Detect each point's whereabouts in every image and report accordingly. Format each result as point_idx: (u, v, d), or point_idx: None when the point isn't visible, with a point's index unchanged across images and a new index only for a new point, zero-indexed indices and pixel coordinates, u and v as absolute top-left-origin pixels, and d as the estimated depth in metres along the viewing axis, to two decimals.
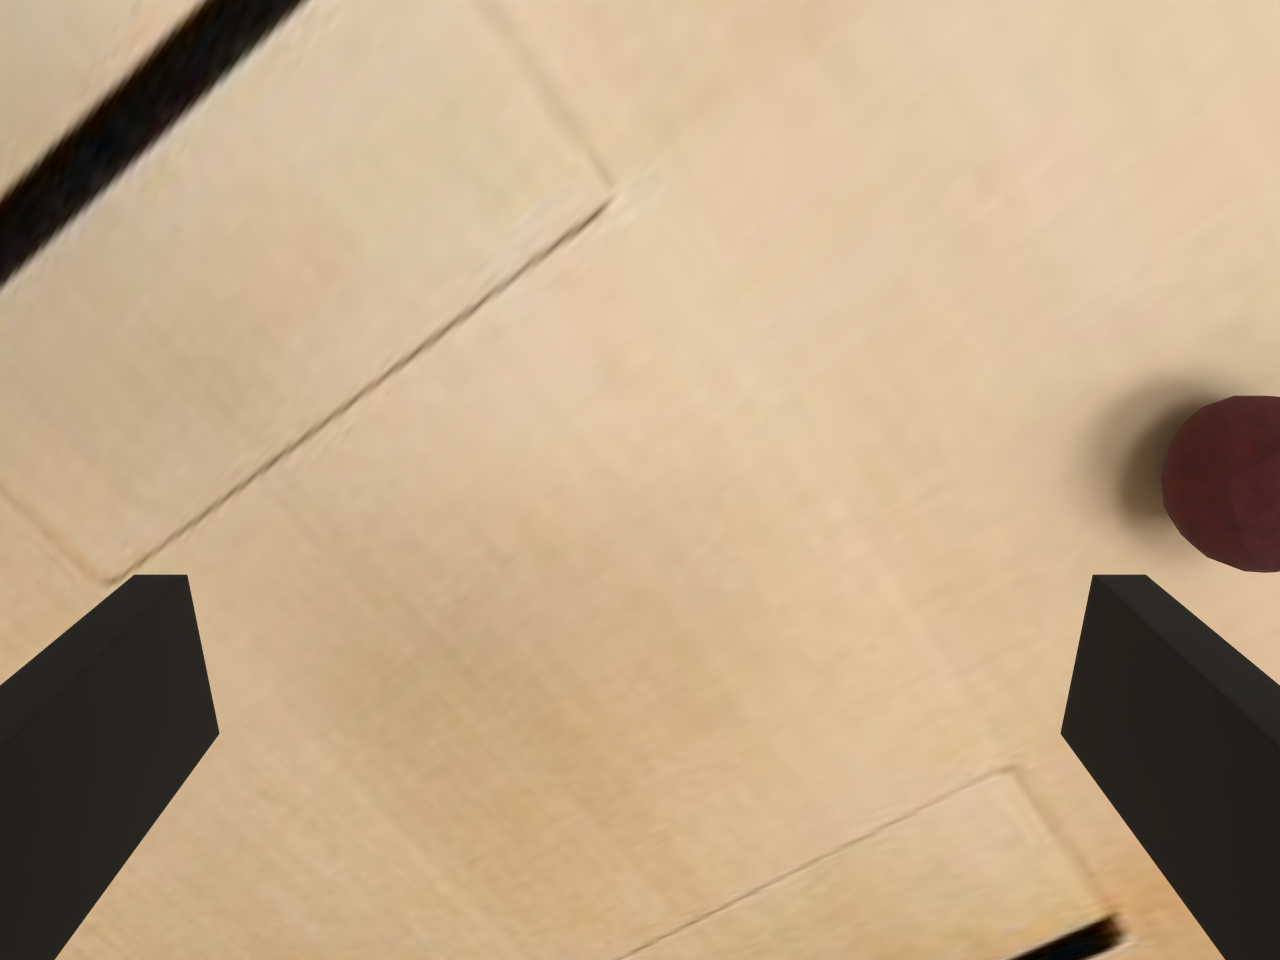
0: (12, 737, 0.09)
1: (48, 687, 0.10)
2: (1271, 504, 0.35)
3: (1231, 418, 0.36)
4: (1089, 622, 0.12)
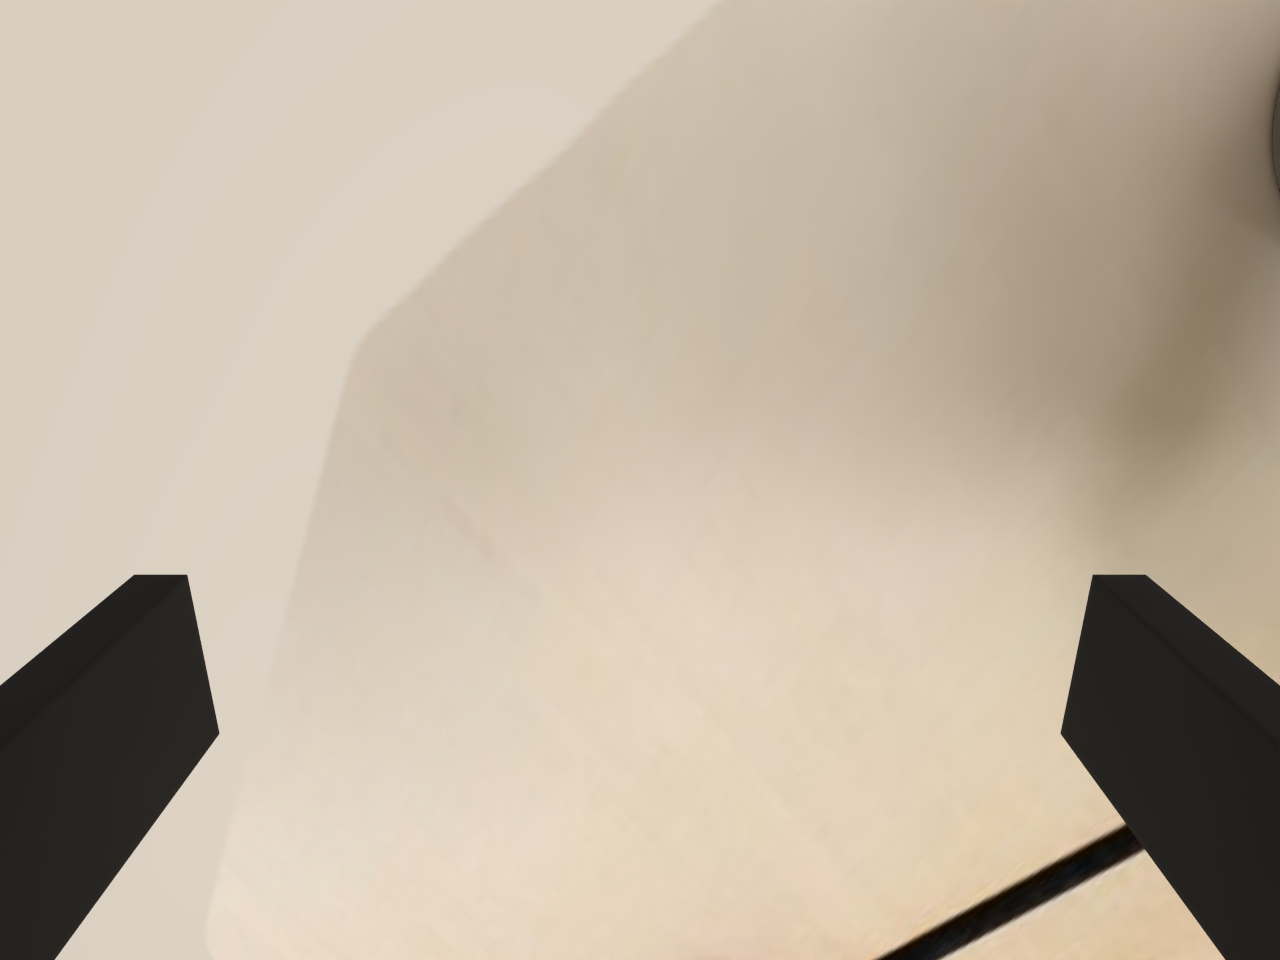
0: (11, 737, 0.09)
1: (48, 687, 0.10)
2: None
3: None
4: (1089, 622, 0.12)
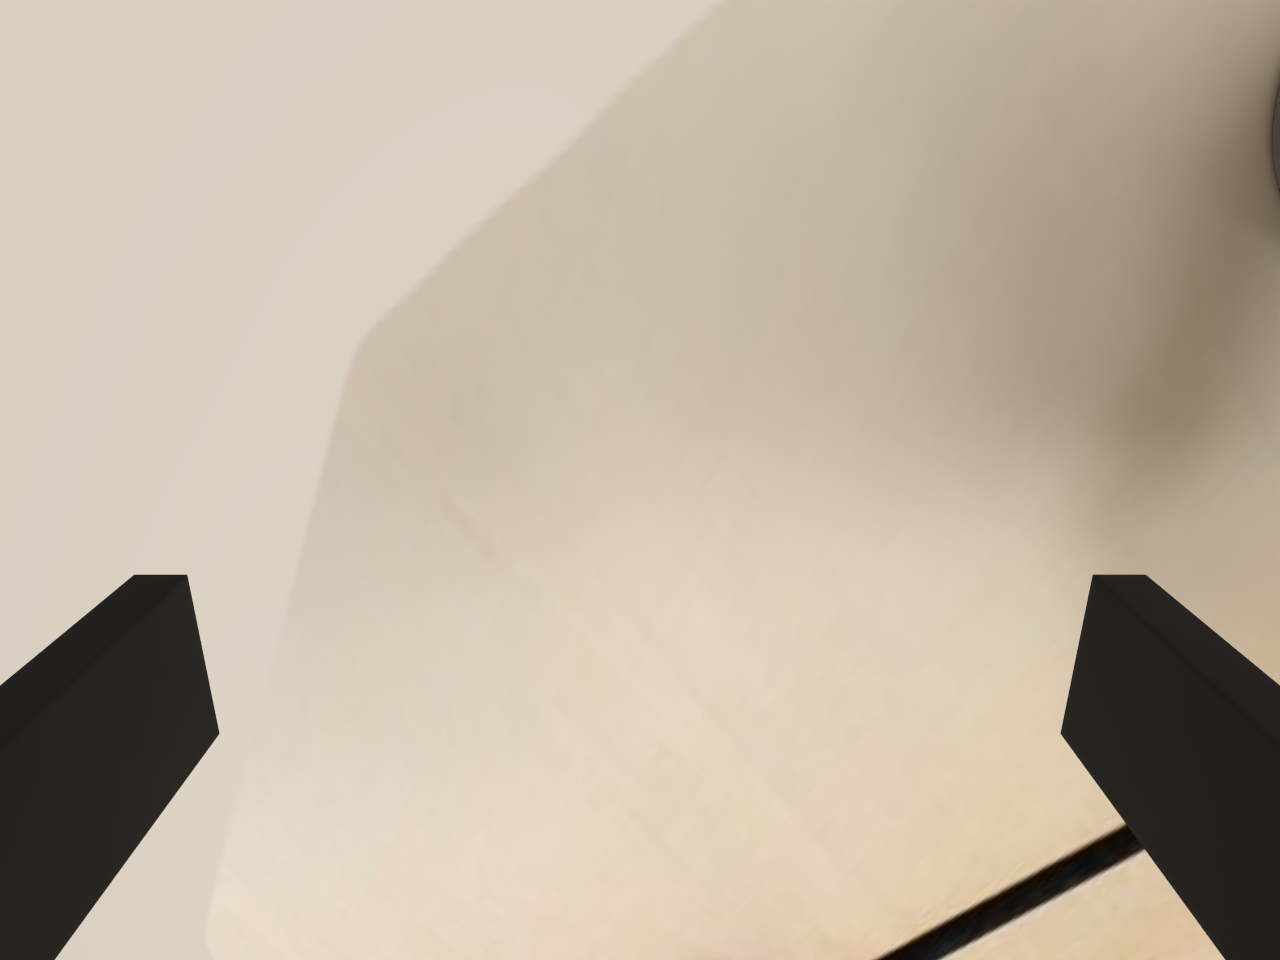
0: (12, 736, 0.09)
1: (48, 687, 0.10)
2: None
3: None
4: (1089, 622, 0.12)
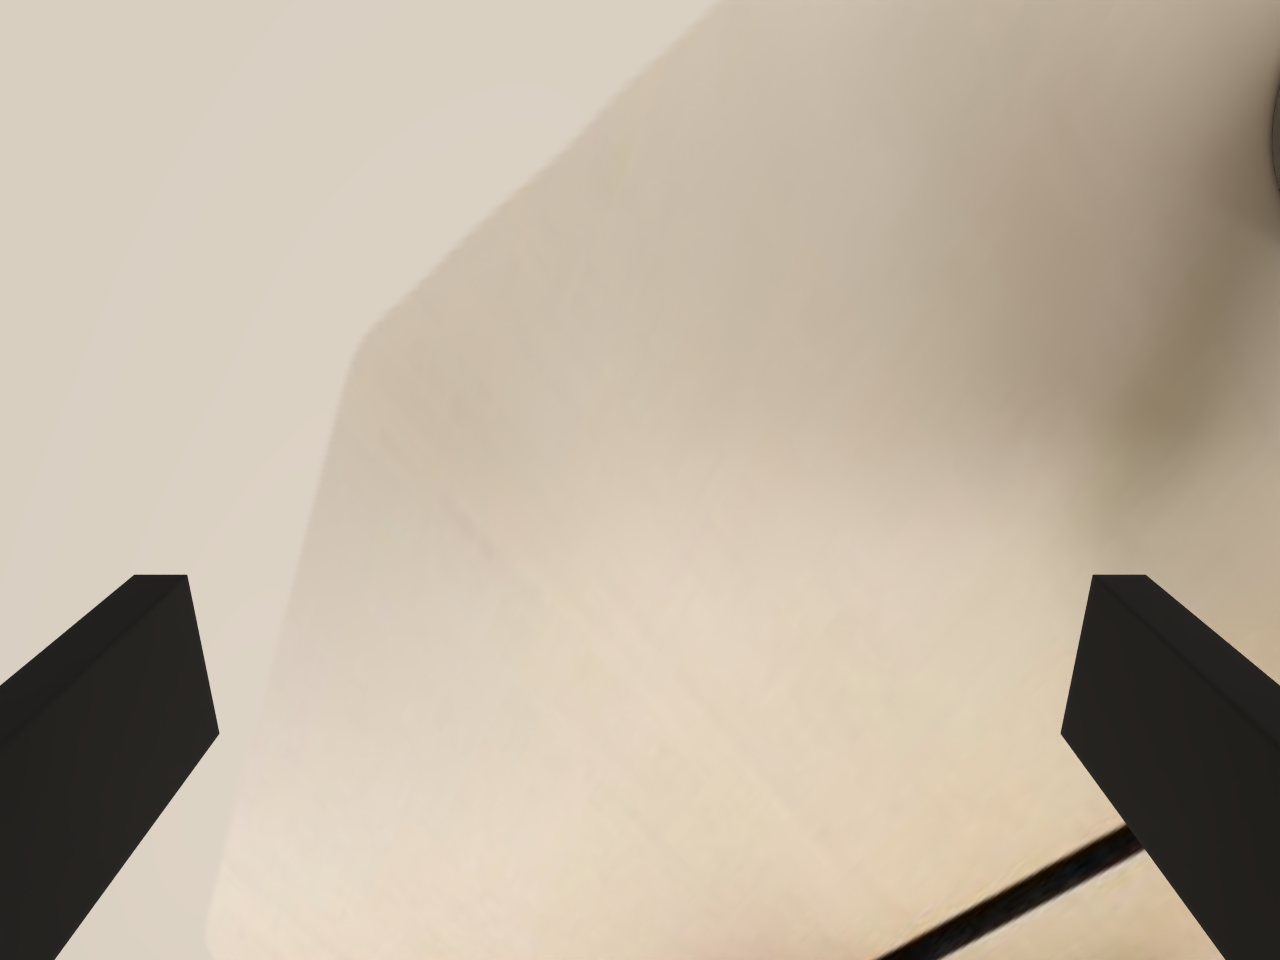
0: (12, 736, 0.09)
1: (48, 687, 0.10)
2: None
3: None
4: (1089, 622, 0.12)
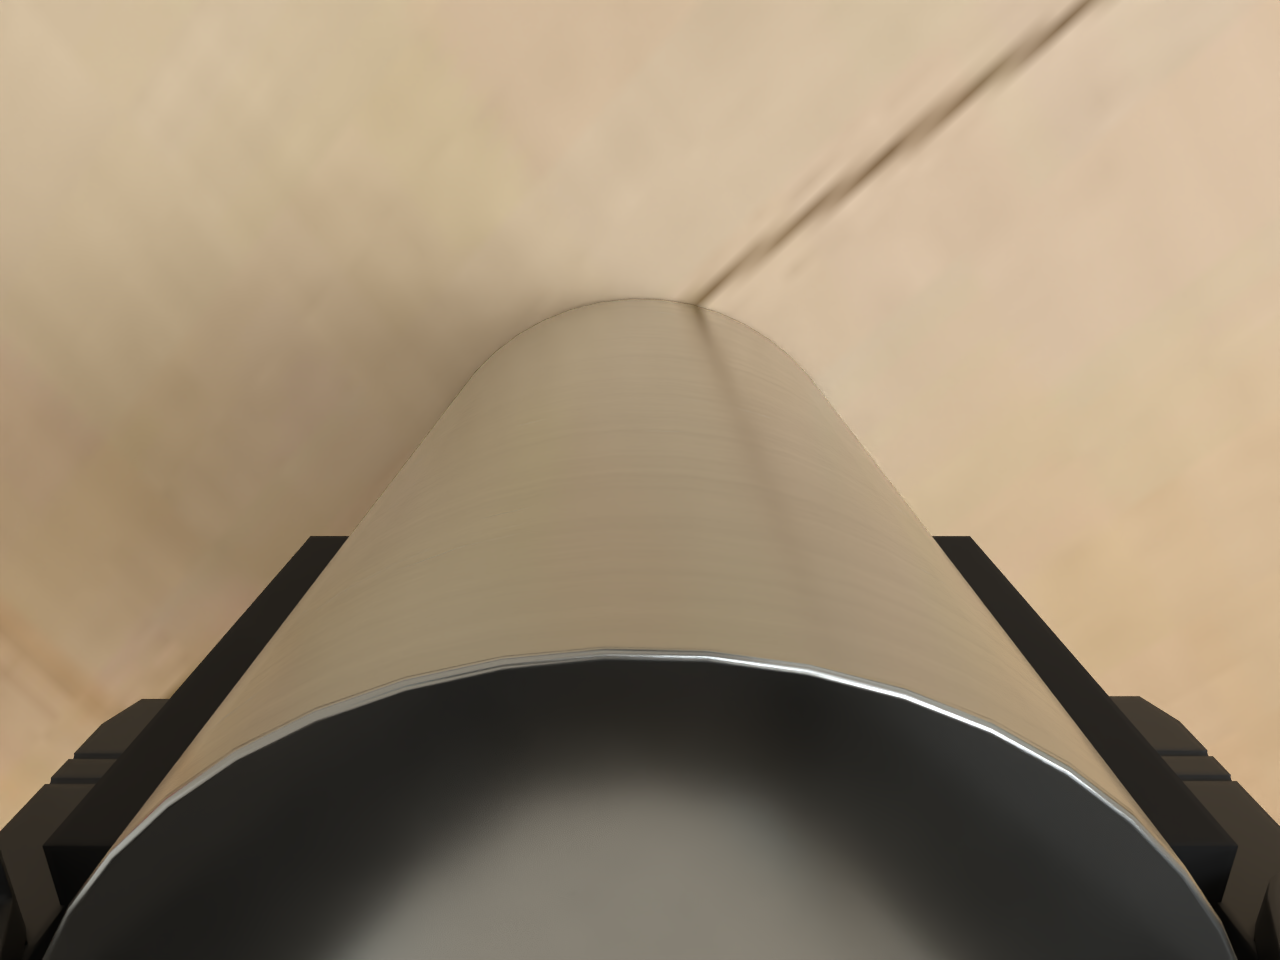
0: None
1: (276, 627, 0.11)
2: None
3: None
4: None
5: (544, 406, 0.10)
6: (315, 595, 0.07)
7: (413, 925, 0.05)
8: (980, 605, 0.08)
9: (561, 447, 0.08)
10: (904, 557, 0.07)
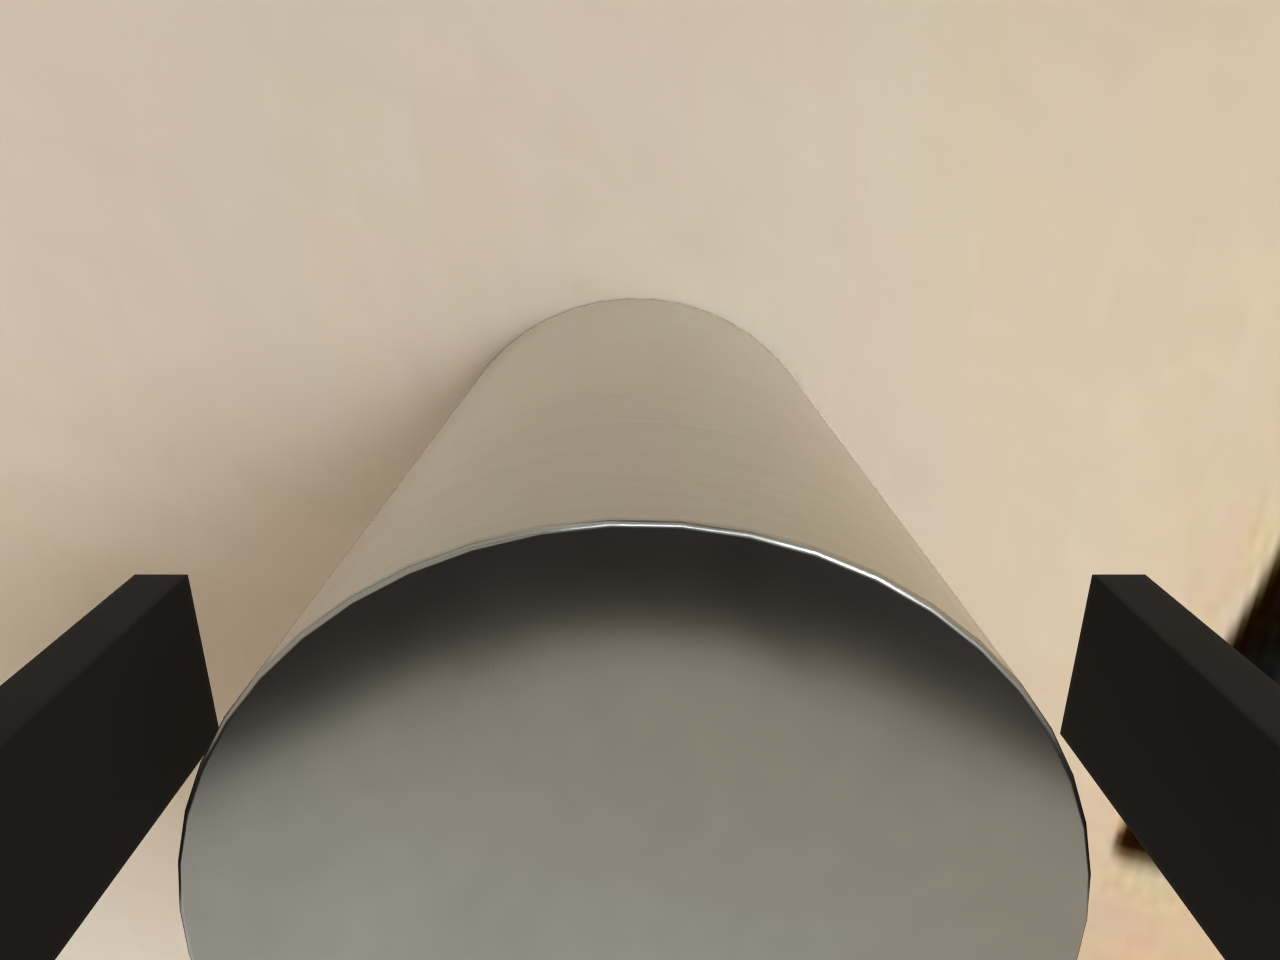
0: (12, 736, 0.09)
1: (49, 687, 0.10)
2: None
3: None
4: (1088, 622, 0.12)
5: (556, 380, 0.12)
6: (383, 517, 0.10)
7: (471, 729, 0.08)
8: (901, 528, 0.10)
9: (572, 407, 0.11)
10: (837, 485, 0.09)
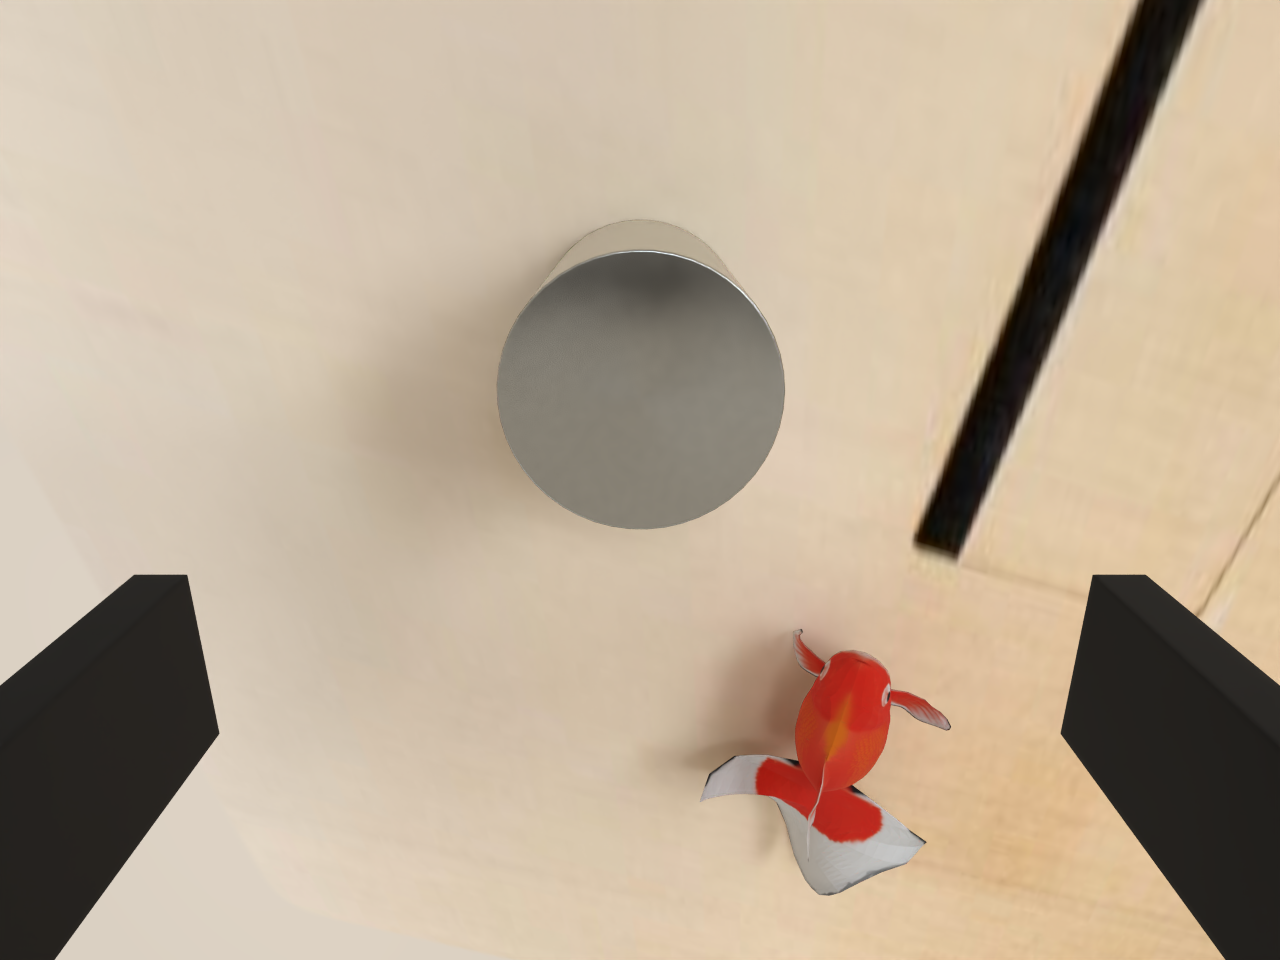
0: (12, 737, 0.09)
1: (48, 687, 0.10)
2: None
3: None
4: (1089, 622, 0.12)
5: (609, 237, 0.30)
6: (552, 273, 0.28)
7: (592, 318, 0.26)
8: (736, 281, 0.28)
9: (617, 239, 0.29)
10: (710, 261, 0.28)
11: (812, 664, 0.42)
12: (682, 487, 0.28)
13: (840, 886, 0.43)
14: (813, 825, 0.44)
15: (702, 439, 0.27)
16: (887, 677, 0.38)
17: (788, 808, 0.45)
